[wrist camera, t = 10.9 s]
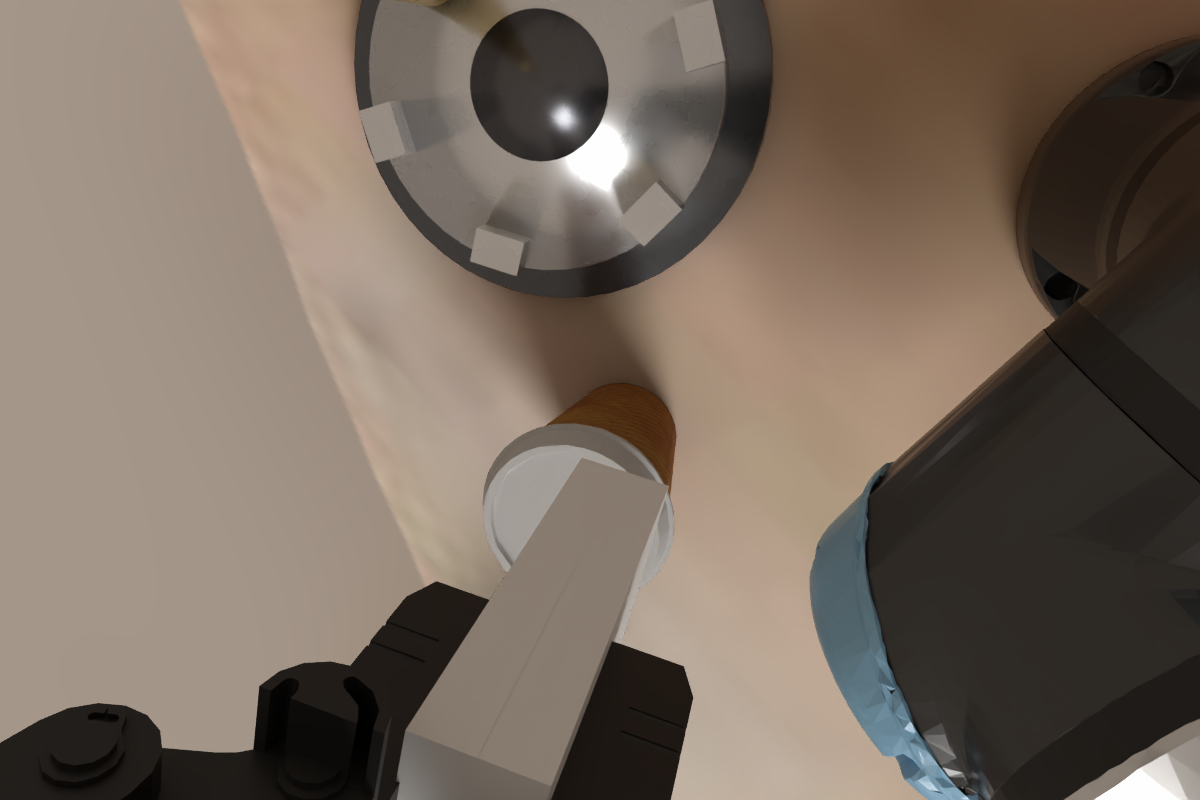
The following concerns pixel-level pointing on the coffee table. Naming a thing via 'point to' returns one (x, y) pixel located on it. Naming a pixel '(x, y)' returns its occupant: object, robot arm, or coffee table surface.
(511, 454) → the disposable coffee cup
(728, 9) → the base plate
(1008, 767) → the robot arm
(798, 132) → the coffee table surface
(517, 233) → the lugged metal disc
